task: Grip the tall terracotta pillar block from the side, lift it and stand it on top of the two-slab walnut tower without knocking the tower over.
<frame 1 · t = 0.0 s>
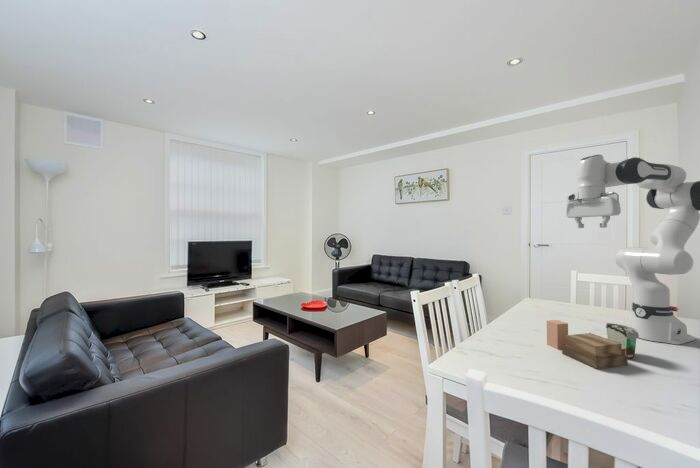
hand: (591, 227, 122), 48 cm above the table, tool pointing down, fingers open, 8 cm apart
tower base: (593, 361, 107), on the table
food container: (626, 355, 111), on the table
tower top: (592, 350, 107), point 3 cm above the table
pillar: (557, 346, 119), on the table
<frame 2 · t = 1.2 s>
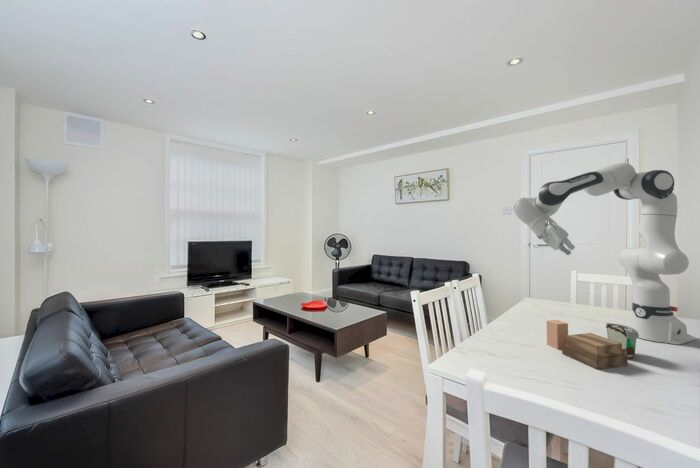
hand: (571, 251, 122), 38 cm above the table, tool tilted 45°, fingers open, 8 cm apart
tower base: (593, 361, 107), on the table, touching tower top
tower top: (593, 350, 107), point 3 cm above the table, touching tower base
everything else where it was.
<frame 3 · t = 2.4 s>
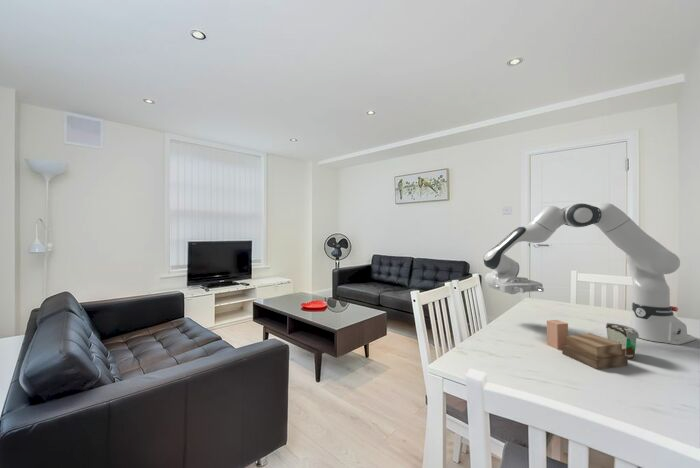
hand: (533, 290, 131), 20 cm above the table, tool horizontal, fingers open, 8 cm apart
nothing on the table moved.
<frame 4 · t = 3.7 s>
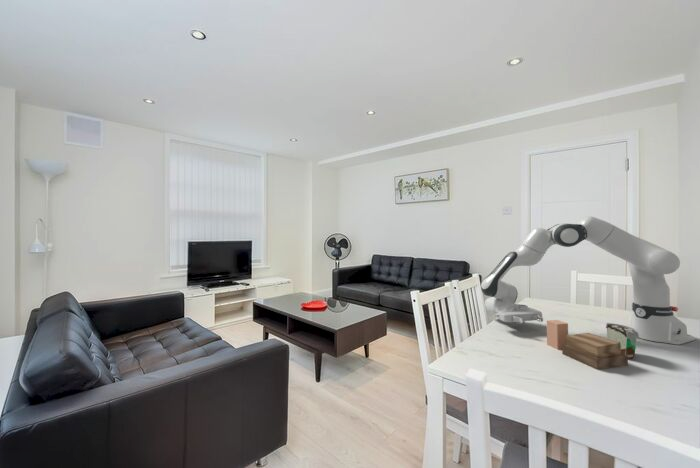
hand: (532, 320, 131), 7 cm above the table, tool horizontal, fingers open, 8 cm apart
nothing on the table moved.
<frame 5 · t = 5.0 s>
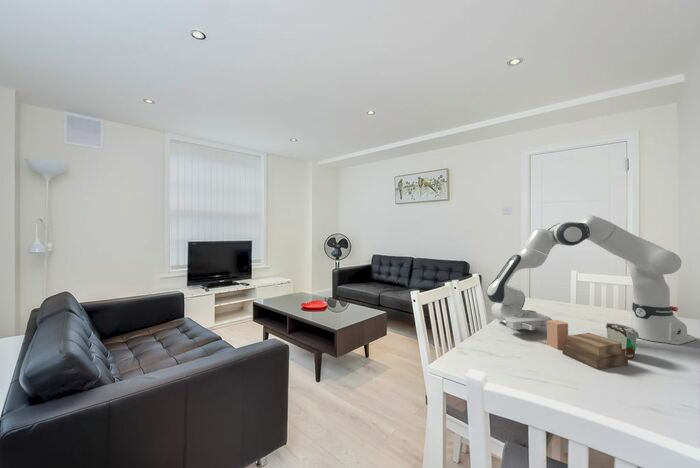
hand: (542, 327, 127), 5 cm above the table, tool horizontal, fingers open, 8 cm apart
tower base: (593, 361, 107), on the table
tower top: (593, 350, 107), point 3 cm above the table
everything else where it was.
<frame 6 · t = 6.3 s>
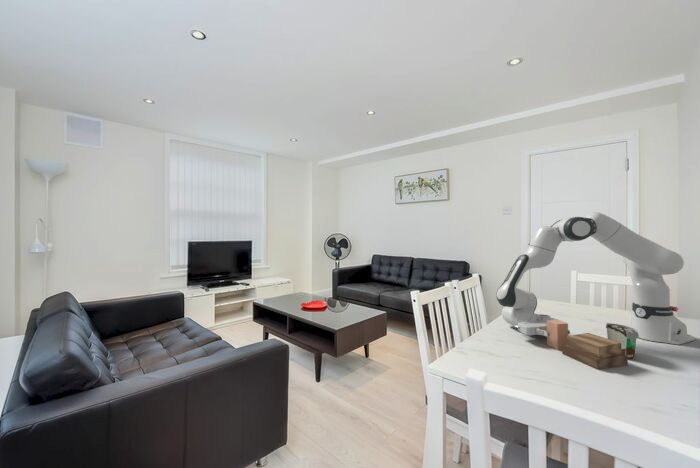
hand: (558, 333, 119), 5 cm above the table, tool horizontal, fingers open, 8 cm apart
tower base: (593, 361, 107), on the table, touching tower top
tower top: (593, 350, 107), point 3 cm above the table, touching tower base
everything else where it was.
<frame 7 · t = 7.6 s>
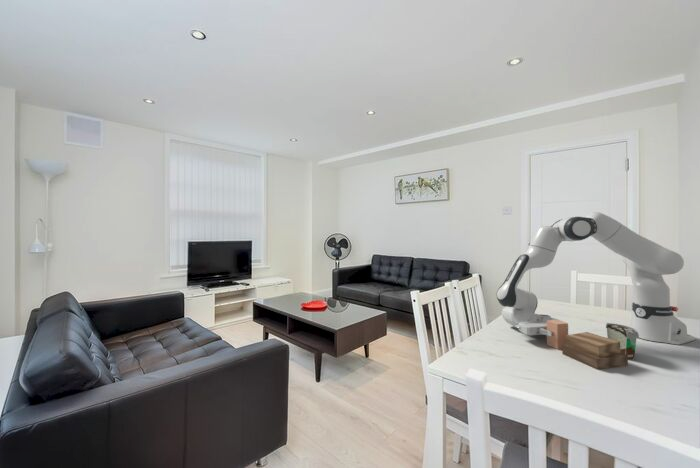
hand: (559, 333, 119), 6 cm above the table, tool horizontal, fingers closed on pillar, 5 cm apart
pillar: (557, 346, 119), on the table, touching gripper
everything else where it was.
when the fingers open (15 cm above the table, at t = 13.6 s): pillar drops 2 cm, resting on tower top.
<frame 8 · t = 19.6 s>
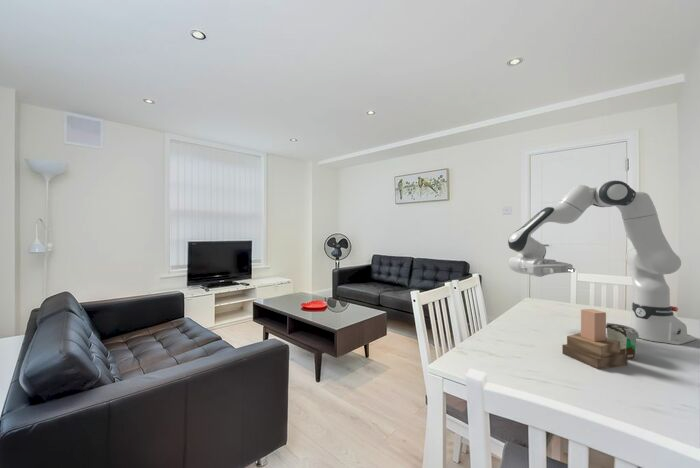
hand: (564, 270, 125), 30 cm above the table, tool horizontal, fingers open, 8 cm apart
tower top: (592, 349, 107), point 3 cm above the table, touching pillar, tower base
pillar: (593, 338, 107), point 8 cm above the table, touching tower top
everything else where it was.
at the end: pillar inside the target area on the tower top (0.2 cm from its centre), point 4.1 cm above the tower top's base; tower top tilted 0°; tower base moved 0.7 cm from its start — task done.
